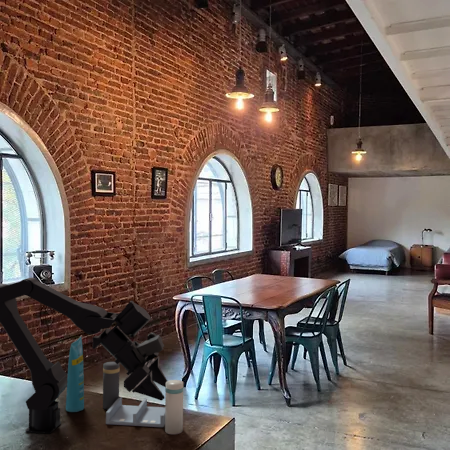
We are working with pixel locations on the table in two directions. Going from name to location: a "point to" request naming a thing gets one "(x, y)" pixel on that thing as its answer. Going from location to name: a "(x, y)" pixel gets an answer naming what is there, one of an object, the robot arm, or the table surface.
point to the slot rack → (135, 414)
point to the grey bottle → (110, 384)
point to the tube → (75, 378)
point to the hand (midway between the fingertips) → (165, 392)
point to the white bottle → (174, 407)
